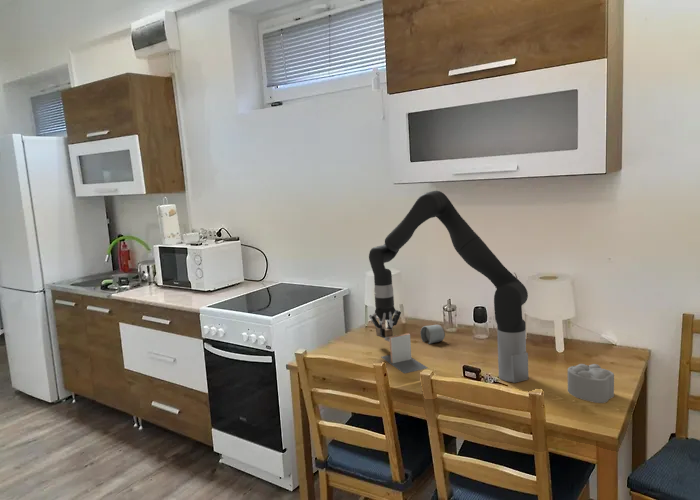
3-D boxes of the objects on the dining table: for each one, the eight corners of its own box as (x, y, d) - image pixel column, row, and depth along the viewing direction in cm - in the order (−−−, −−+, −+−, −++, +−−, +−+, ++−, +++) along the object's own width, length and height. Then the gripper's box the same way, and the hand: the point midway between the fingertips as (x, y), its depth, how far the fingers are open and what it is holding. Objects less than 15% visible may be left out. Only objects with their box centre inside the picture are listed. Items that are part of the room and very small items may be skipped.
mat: (428, 369, 194) (428, 368, 194) (404, 374, 191) (404, 373, 191) (403, 353, 213) (403, 352, 213) (380, 358, 209) (380, 356, 209)
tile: (411, 359, 204) (410, 334, 203) (392, 363, 201) (391, 337, 200) (409, 358, 206) (408, 333, 204) (390, 361, 203) (389, 336, 201)
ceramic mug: (446, 342, 223) (445, 324, 222) (431, 346, 219) (430, 328, 218) (431, 336, 232) (430, 319, 231) (416, 340, 228) (415, 323, 227)
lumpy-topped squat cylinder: (602, 405, 158) (602, 377, 157) (560, 393, 168) (560, 367, 166) (617, 394, 165) (617, 367, 163) (576, 383, 174) (576, 358, 173)
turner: (373, 336, 221) (372, 327, 220) (384, 334, 222) (383, 325, 222) (392, 342, 204) (391, 333, 204) (403, 340, 205) (402, 331, 205)
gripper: (372, 299, 206) (374, 342, 208) (403, 294, 211) (406, 336, 213) (364, 295, 213) (367, 337, 215) (395, 290, 218) (397, 331, 220)
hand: (386, 336), depth 214 cm, fingers closed on turner, 2 cm apart
